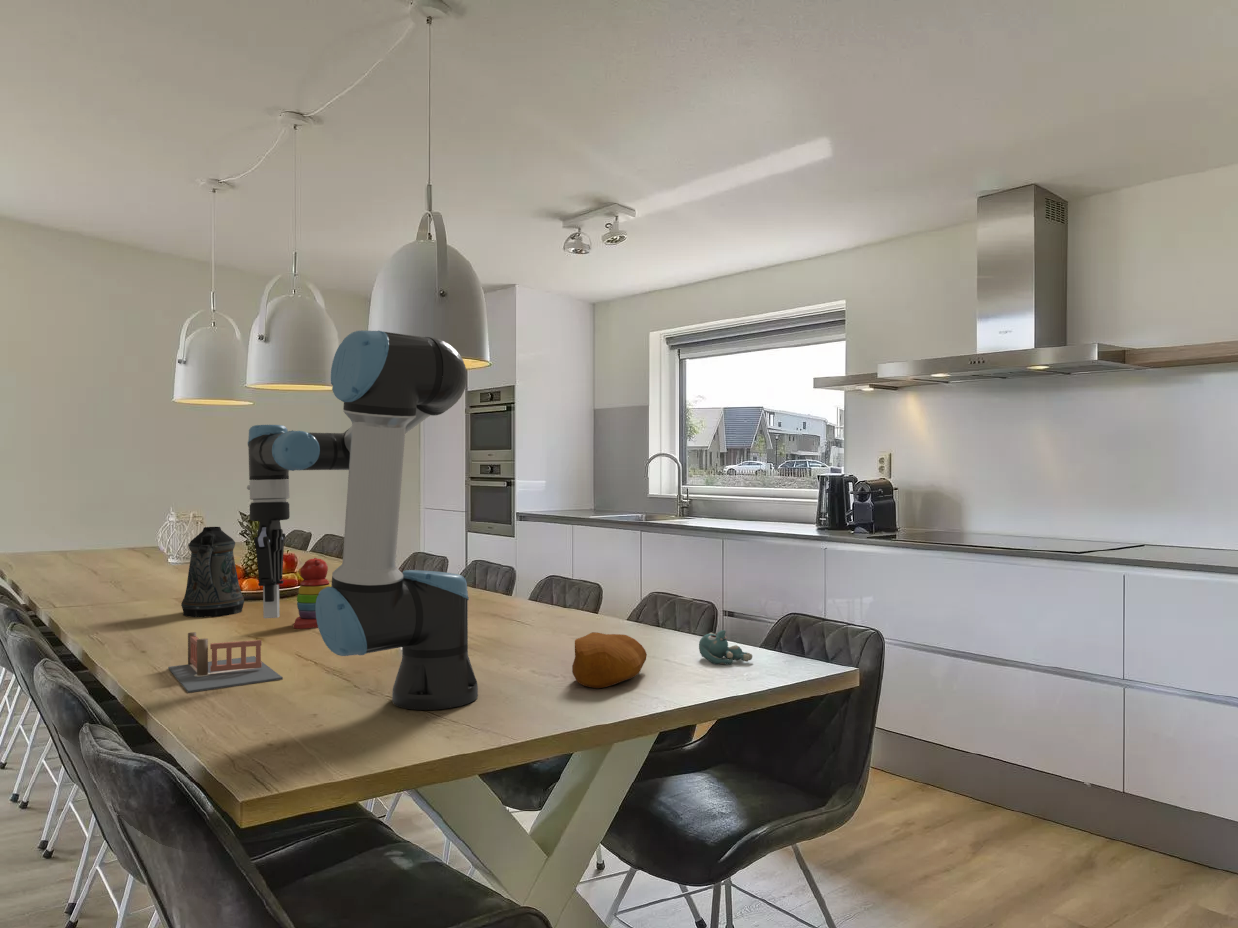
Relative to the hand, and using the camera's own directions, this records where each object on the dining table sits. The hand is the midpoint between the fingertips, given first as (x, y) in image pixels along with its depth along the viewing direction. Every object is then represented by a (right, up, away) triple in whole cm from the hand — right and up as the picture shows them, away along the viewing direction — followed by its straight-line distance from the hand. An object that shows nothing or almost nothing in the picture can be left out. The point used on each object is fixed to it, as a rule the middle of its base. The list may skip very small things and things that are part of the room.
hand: (271, 617), depth 174 cm
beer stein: (-47, -13, +75) cm, 89 cm away
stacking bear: (-11, -12, +56) cm, 58 cm away
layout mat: (-10, -12, +1) cm, 16 cm away
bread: (+69, -12, -5) cm, 70 cm away
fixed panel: (-17, -12, +4) cm, 21 cm away
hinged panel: (-8, -11, +1) cm, 13 cm away
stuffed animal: (+93, -12, +11) cm, 95 cm away
